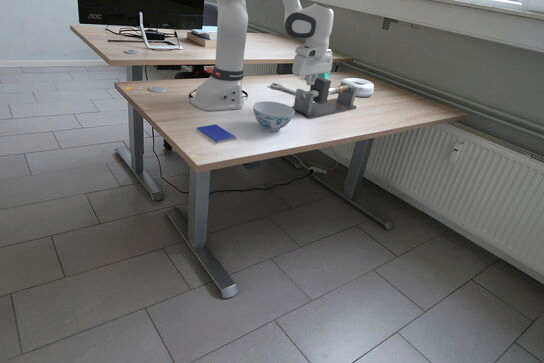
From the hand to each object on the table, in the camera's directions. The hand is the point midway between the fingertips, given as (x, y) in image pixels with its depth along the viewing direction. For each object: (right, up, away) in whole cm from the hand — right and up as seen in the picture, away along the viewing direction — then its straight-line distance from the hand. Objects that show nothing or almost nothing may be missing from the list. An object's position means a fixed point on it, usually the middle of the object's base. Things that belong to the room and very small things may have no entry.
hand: (309, 84), depth 154 cm
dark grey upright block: (+4, -5, +8) cm, 10 cm away
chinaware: (-16, -20, -13) cm, 29 cm away
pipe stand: (+8, -7, +14) cm, 18 cm away
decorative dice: (+11, +16, +56) cm, 60 cm away
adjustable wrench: (-7, +3, +29) cm, 30 cm away
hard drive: (-34, -24, -25) cm, 49 cm away
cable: (+29, +7, +46) cm, 55 cm away
